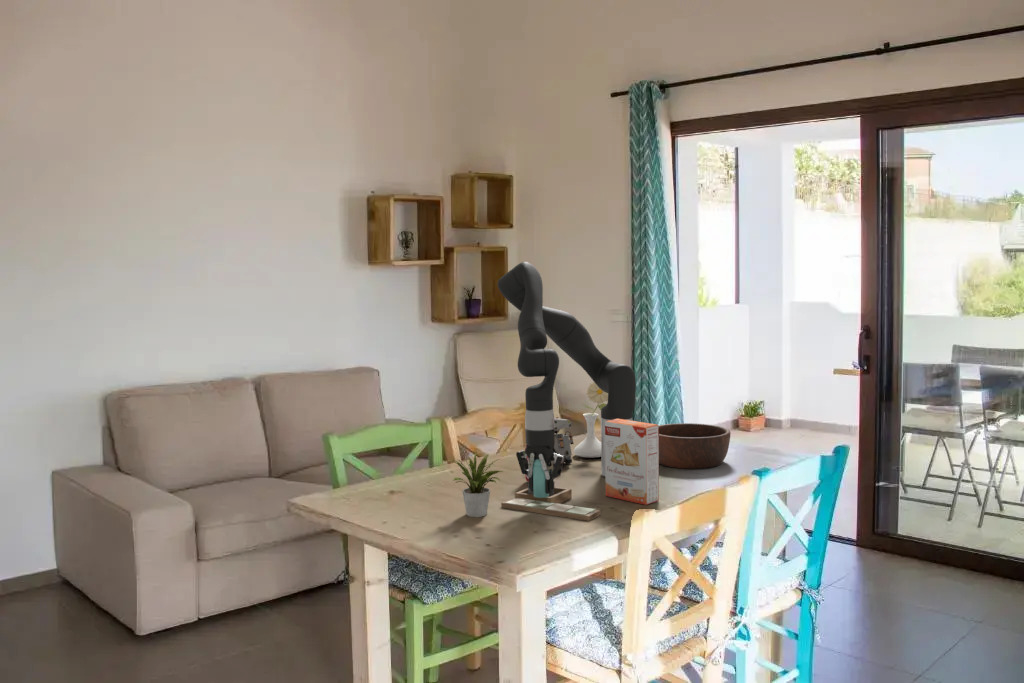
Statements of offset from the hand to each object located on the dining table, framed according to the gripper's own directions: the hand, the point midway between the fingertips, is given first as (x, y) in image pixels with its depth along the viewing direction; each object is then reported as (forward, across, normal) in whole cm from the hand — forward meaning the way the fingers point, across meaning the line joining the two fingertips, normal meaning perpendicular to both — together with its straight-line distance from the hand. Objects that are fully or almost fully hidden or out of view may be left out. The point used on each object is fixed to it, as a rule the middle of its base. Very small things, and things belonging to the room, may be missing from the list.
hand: (541, 491), depth 253 cm
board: (+5, +3, 0) cm, 5 cm away
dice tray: (+5, -4, +8) cm, 11 cm away
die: (+2, -4, +9) cm, 10 cm away
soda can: (+5, -16, +25) cm, 30 cm away
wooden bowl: (+6, +12, +70) cm, 71 cm away
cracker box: (+5, +16, +21) cm, 27 cm away
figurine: (+5, -23, +46) cm, 52 cm away
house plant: (+5, -12, -13) cm, 19 cm away
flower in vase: (+5, -18, +63) cm, 66 cm away
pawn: (+1, 0, 0) cm, 1 cm away
